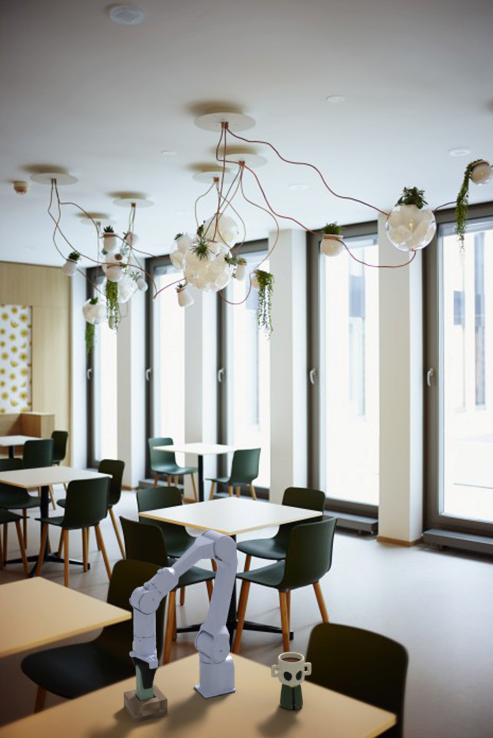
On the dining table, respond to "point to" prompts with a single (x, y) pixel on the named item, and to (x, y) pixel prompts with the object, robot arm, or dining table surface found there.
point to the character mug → (291, 678)
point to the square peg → (140, 691)
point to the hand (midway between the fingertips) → (145, 685)
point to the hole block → (145, 705)
